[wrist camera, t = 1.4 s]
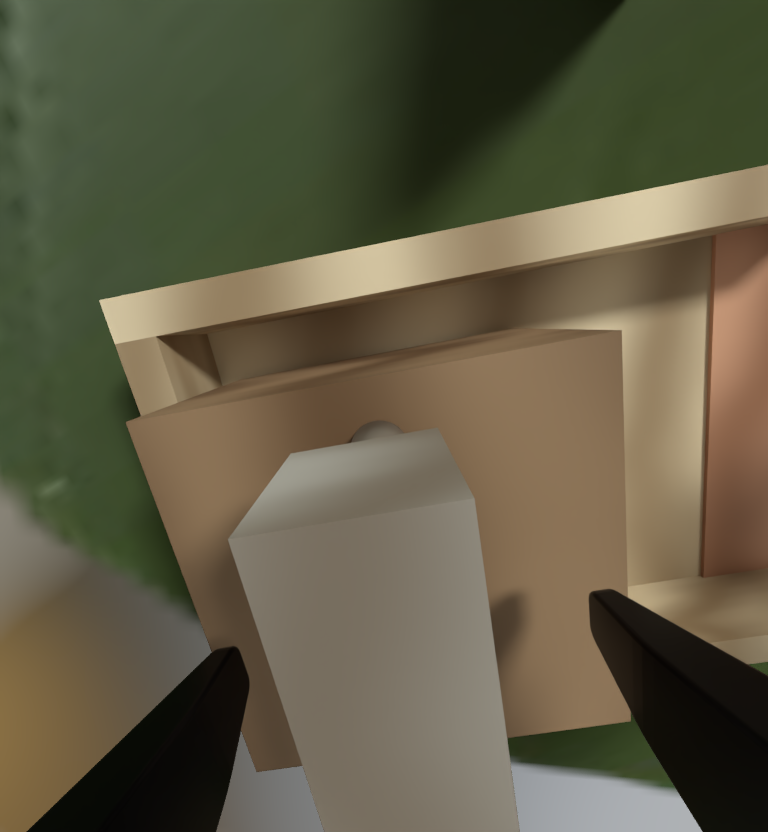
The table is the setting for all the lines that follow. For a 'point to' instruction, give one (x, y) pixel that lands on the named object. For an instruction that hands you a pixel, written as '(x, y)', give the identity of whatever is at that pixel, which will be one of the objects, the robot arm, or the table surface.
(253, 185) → the table surface
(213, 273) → the table surface
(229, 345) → the bay
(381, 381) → the panel with bar handle
